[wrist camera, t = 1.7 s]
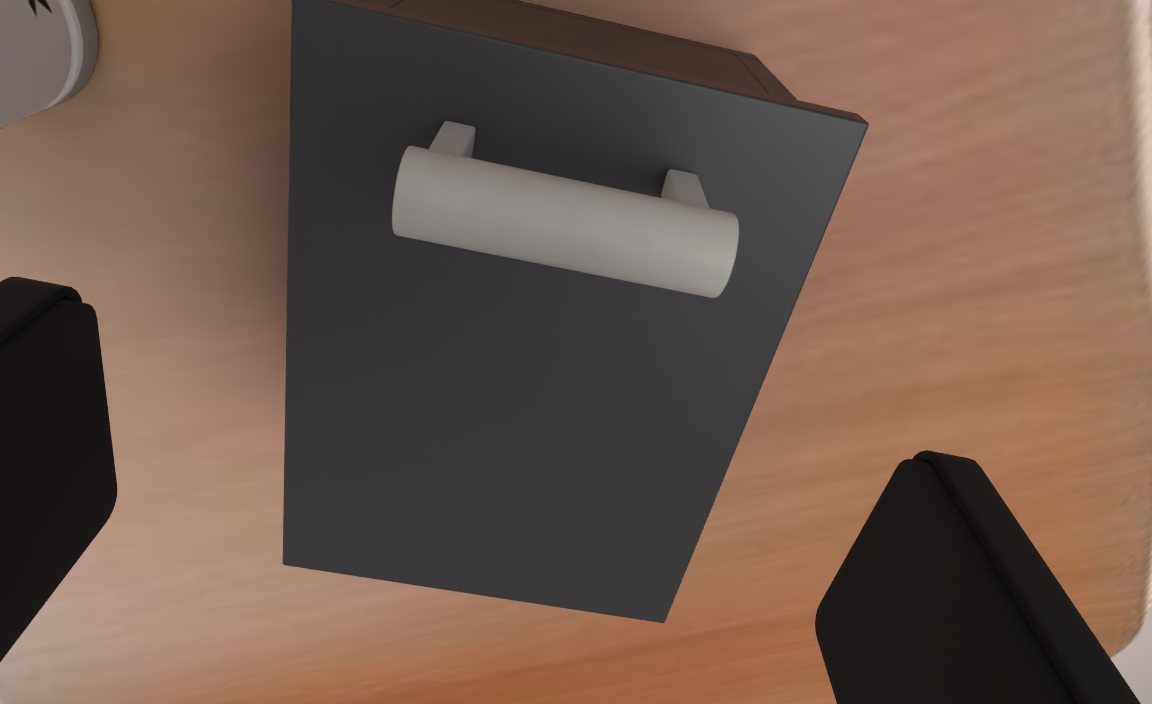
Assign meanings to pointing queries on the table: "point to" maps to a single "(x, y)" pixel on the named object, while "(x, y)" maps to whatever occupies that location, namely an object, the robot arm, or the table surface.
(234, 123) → the table surface
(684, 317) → the lid
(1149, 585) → the table surface
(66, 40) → the travel mug
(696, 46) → the dark storage box
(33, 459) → the robot arm
